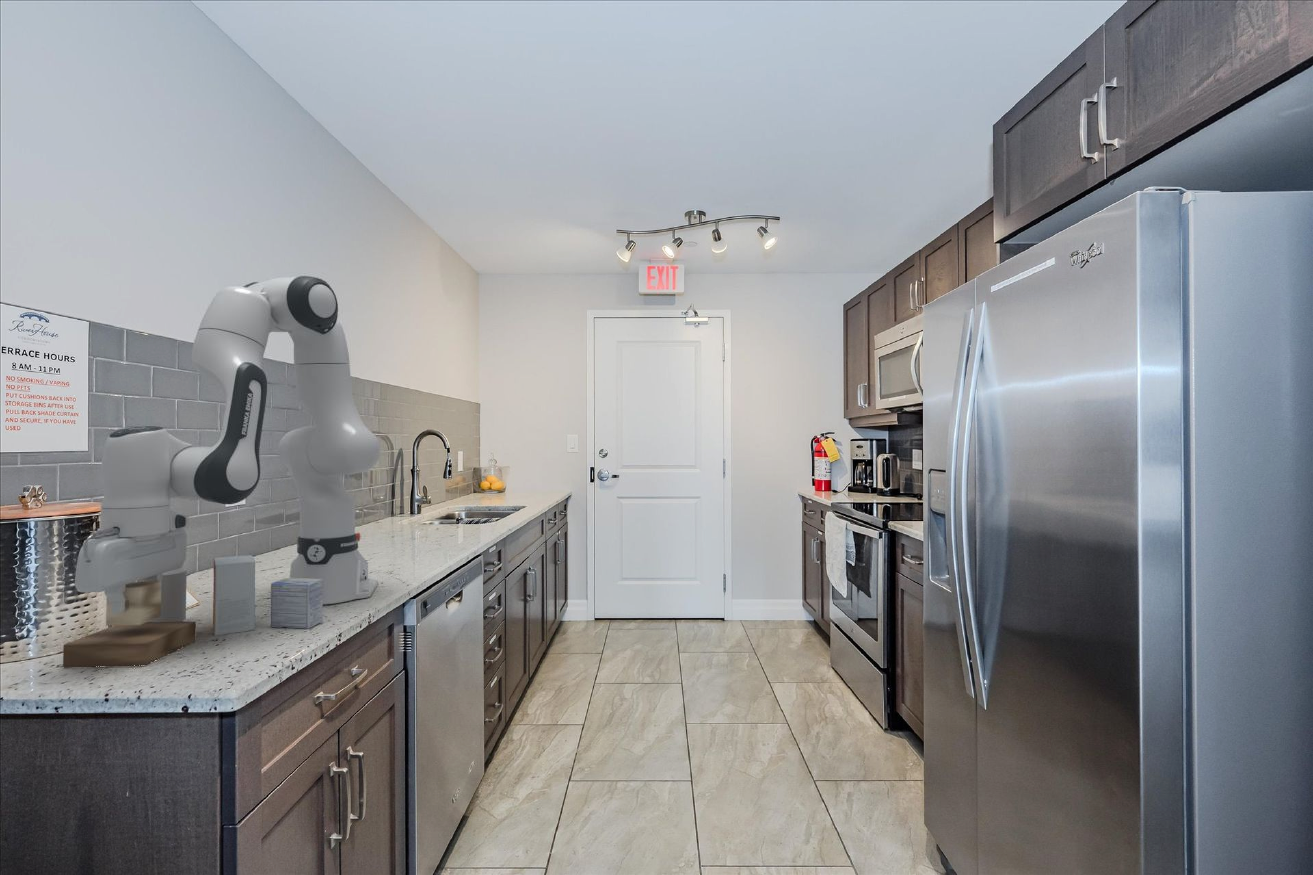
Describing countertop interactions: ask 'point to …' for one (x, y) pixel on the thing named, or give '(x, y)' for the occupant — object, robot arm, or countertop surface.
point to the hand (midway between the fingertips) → (134, 606)
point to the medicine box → (296, 602)
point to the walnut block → (129, 644)
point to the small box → (234, 594)
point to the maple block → (137, 604)
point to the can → (173, 596)
